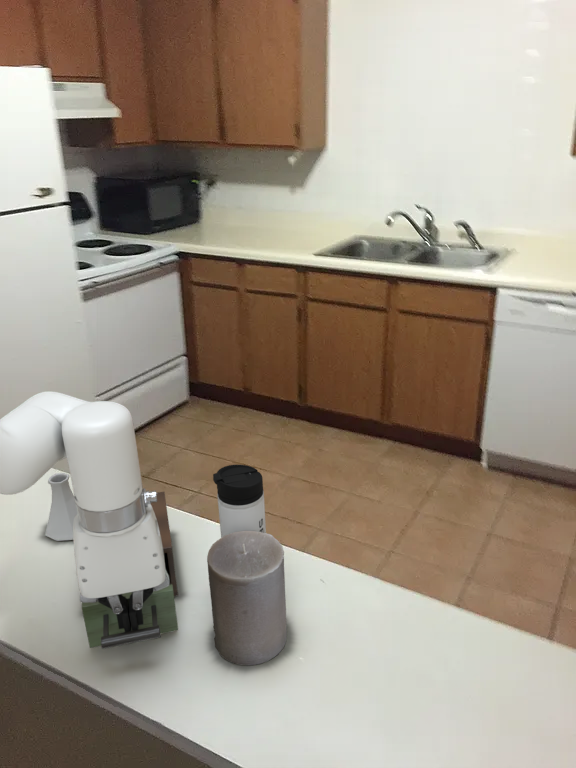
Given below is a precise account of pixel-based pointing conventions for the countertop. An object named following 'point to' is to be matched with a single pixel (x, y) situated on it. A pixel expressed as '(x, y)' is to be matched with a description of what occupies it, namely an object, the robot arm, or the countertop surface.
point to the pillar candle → (248, 597)
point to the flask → (61, 509)
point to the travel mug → (240, 499)
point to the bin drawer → (107, 633)
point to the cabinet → (165, 537)
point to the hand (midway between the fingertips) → (132, 628)
